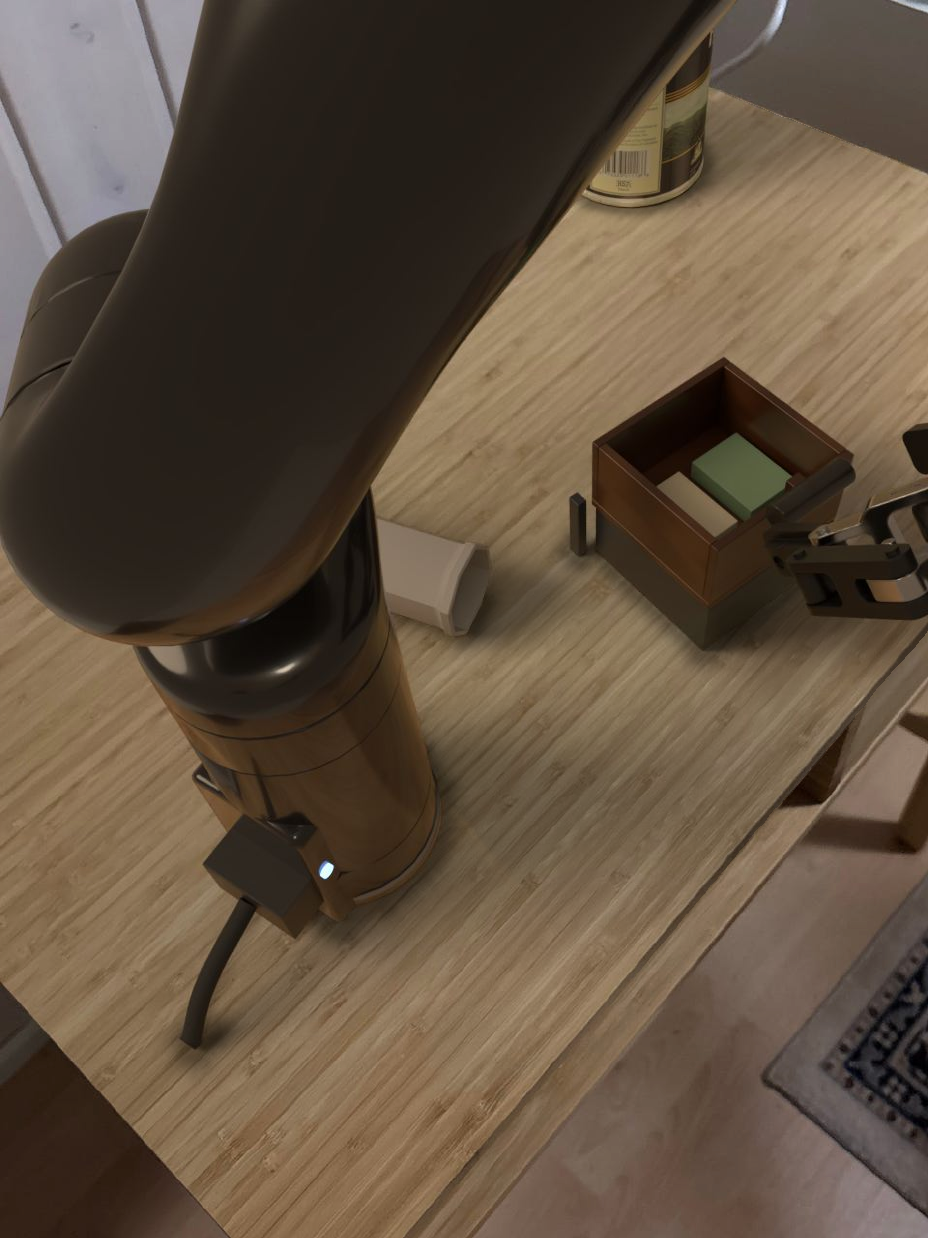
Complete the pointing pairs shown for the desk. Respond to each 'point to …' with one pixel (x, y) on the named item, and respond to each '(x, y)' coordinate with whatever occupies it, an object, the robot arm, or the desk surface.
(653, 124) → the coffee can
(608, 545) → the stand
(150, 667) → the robot arm
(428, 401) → the desk surface
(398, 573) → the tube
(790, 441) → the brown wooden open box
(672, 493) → the block
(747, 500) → the block
